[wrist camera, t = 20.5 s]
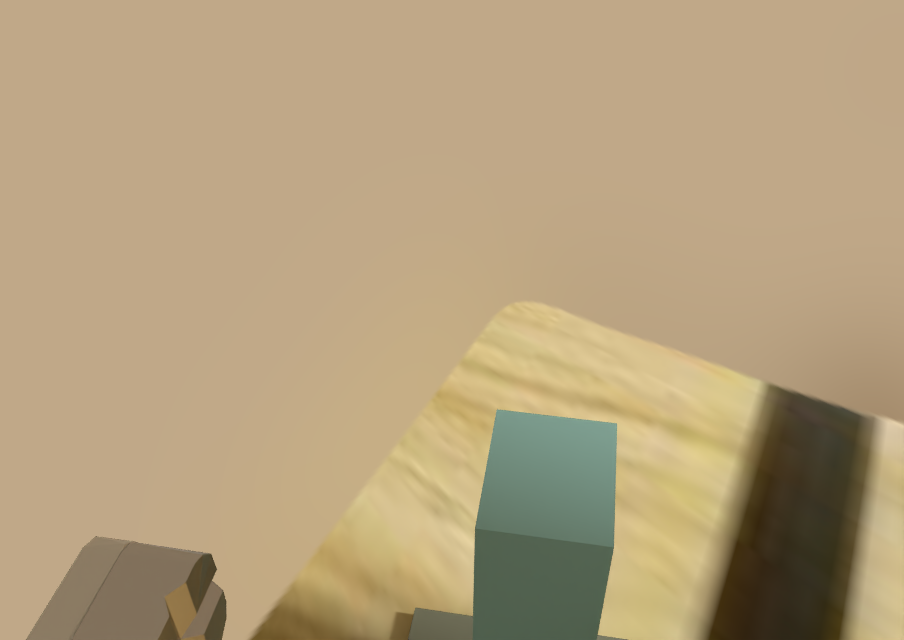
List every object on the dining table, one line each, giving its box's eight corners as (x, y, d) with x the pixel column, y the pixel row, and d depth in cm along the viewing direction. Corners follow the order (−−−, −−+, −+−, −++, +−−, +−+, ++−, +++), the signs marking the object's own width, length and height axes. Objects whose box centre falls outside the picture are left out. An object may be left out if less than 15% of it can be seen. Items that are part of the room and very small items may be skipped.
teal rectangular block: (485, 685, 40) (496, 409, 29) (571, 699, 39) (617, 423, 28) (468, 797, 36) (475, 528, 25) (563, 814, 36) (613, 547, 24)
